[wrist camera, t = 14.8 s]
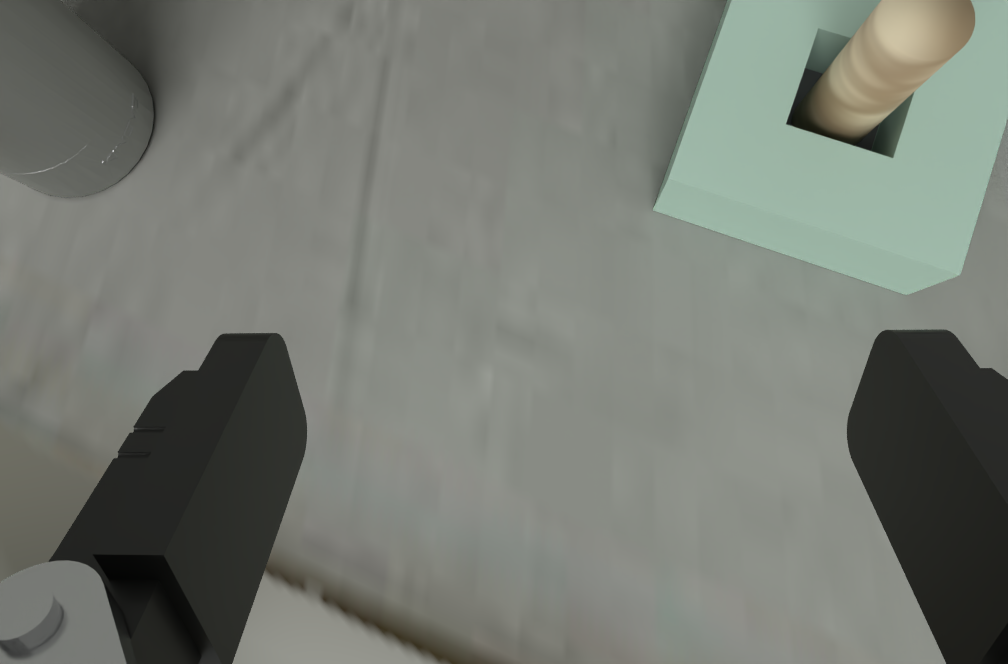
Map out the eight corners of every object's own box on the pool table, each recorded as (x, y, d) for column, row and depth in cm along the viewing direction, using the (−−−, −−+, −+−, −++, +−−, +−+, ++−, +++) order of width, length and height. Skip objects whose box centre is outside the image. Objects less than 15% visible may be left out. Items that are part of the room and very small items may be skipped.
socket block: (652, 210, 39) (668, 178, 34) (732, -15, 41) (758, -76, 36) (906, 295, 38) (960, 274, 33) (979, 59, 40) (1041, 5, 35)
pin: (782, 145, 38) (868, 43, 28) (803, 83, 38) (894, -38, 28) (850, 166, 38) (961, 71, 28) (869, 104, 38) (986, -11, 28)
